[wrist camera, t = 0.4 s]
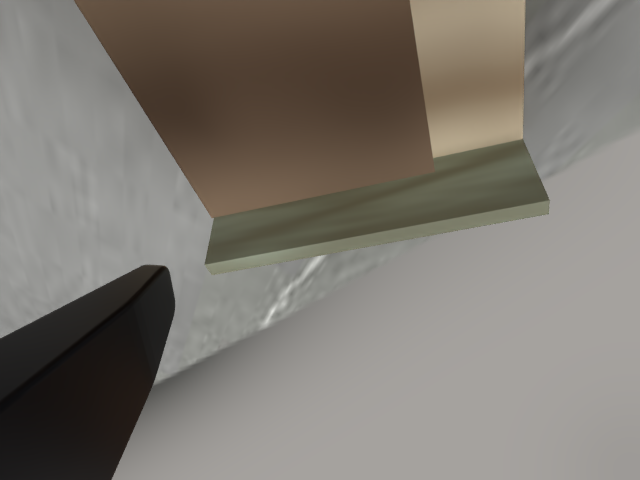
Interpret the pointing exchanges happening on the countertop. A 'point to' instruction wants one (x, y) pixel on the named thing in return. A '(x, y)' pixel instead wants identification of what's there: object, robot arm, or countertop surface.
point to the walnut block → (274, 92)
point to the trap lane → (447, 148)
